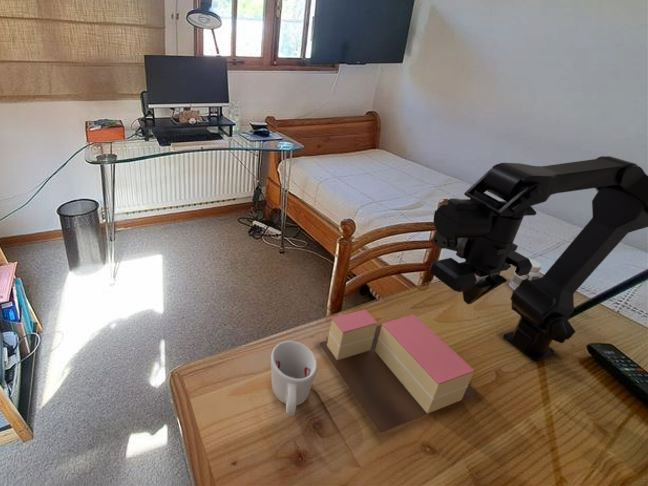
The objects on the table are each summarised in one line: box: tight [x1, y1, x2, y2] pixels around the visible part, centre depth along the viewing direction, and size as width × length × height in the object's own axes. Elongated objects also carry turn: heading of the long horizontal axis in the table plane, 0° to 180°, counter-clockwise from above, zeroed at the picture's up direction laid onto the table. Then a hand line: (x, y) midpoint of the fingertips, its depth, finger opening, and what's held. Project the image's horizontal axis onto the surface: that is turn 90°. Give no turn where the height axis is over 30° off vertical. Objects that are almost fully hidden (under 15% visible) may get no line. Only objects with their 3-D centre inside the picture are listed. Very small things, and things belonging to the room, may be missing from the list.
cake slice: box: [327, 309, 378, 360], centre depth 68 cm, size 8×4×8 cm, turn 108°
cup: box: [270, 340, 318, 417], centre depth 59 cm, size 11×8×8 cm
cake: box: [375, 314, 475, 415], centre depth 63 cm, size 8×13×8 cm, turn 18°
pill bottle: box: [509, 257, 542, 291], centre depth 88 cm, size 5×5×8 cm
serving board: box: [318, 324, 478, 434], centre depth 66 cm, size 22×18×1 cm
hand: (467, 302), depth 66 cm, fingers closed
